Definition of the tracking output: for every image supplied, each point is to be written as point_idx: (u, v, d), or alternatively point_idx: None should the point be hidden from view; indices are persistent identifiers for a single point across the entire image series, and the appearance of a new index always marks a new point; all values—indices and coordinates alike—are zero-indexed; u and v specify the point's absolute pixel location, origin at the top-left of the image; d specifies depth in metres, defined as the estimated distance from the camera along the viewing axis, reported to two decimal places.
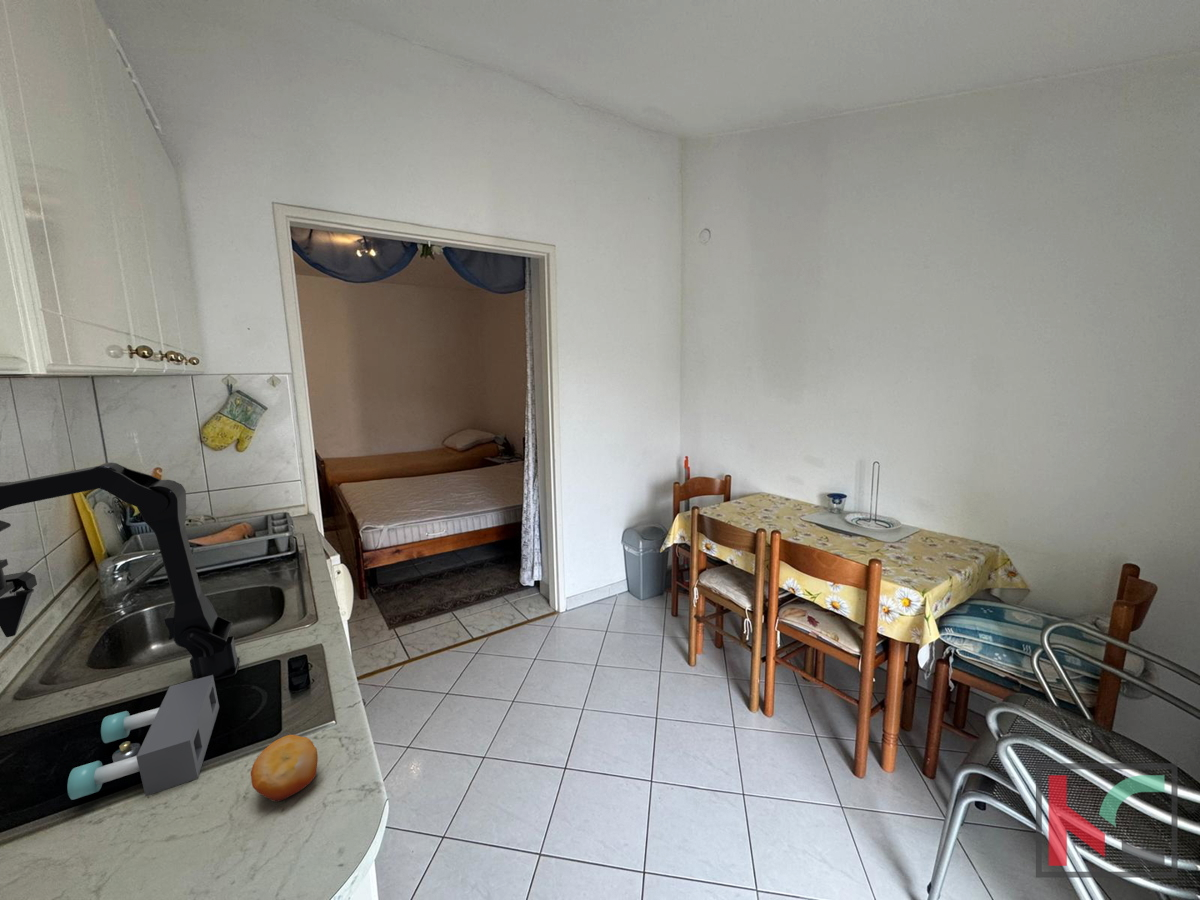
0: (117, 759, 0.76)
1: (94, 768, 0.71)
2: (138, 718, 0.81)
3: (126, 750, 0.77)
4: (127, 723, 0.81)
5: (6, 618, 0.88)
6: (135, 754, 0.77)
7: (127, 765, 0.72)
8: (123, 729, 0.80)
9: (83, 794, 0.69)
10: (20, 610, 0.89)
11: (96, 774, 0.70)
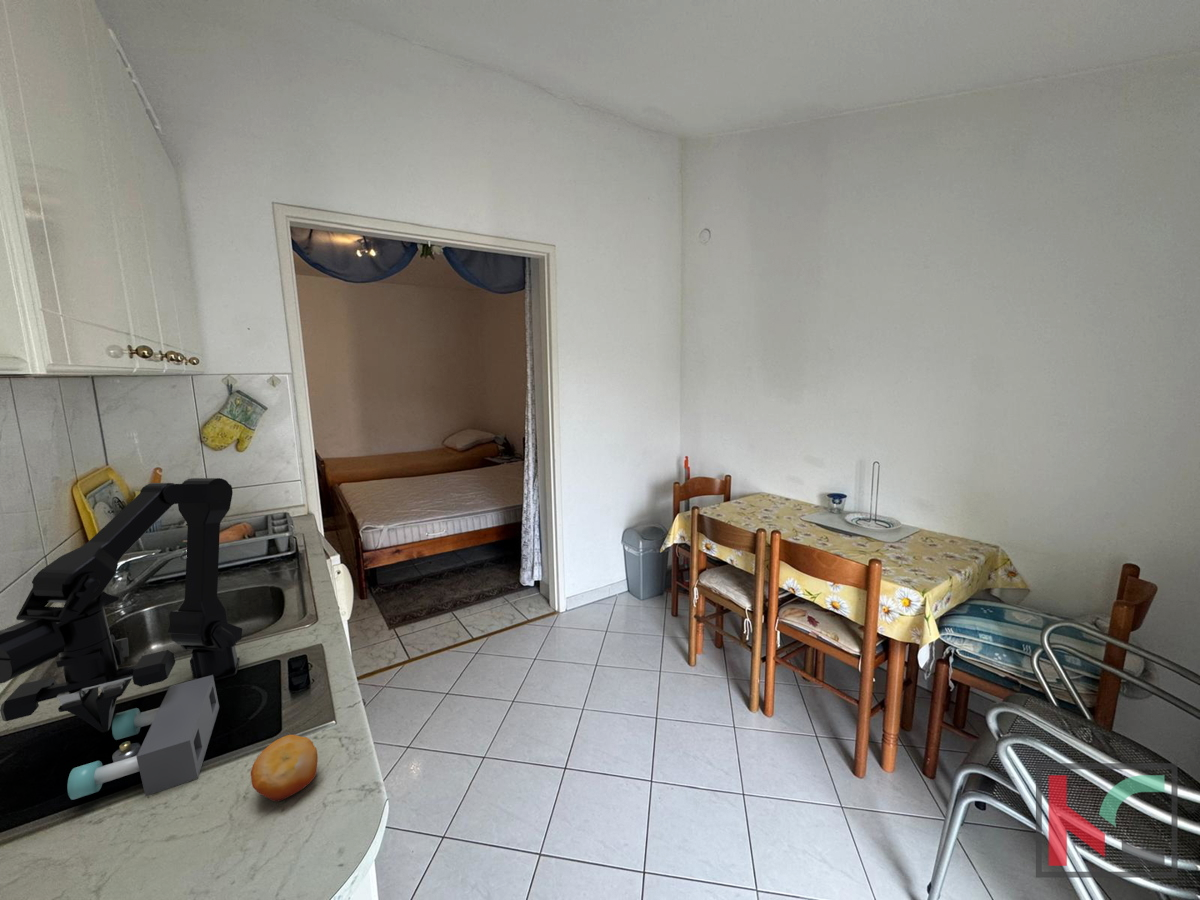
0: (117, 759, 0.76)
1: (94, 768, 0.71)
2: (148, 715, 0.82)
3: (126, 750, 0.77)
4: (138, 720, 0.81)
5: None
6: (135, 754, 0.77)
7: (127, 765, 0.72)
8: (134, 726, 0.81)
9: (83, 794, 0.69)
10: (99, 711, 0.78)
11: (96, 774, 0.70)
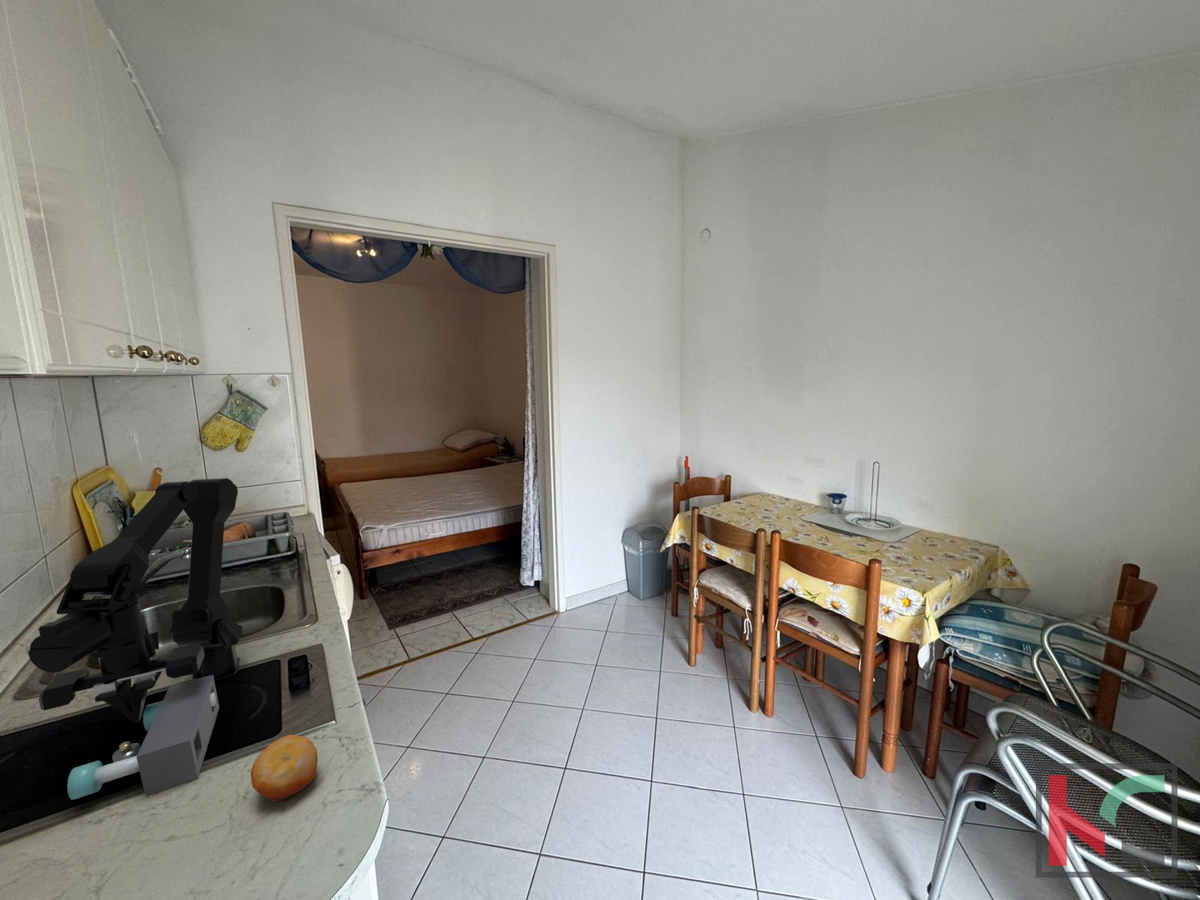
0: (117, 759, 0.76)
1: (94, 768, 0.71)
2: None
3: (126, 750, 0.77)
4: None
5: None
6: (135, 754, 0.77)
7: (127, 765, 0.72)
8: None
9: (83, 794, 0.69)
10: (131, 703, 0.80)
11: (96, 774, 0.70)
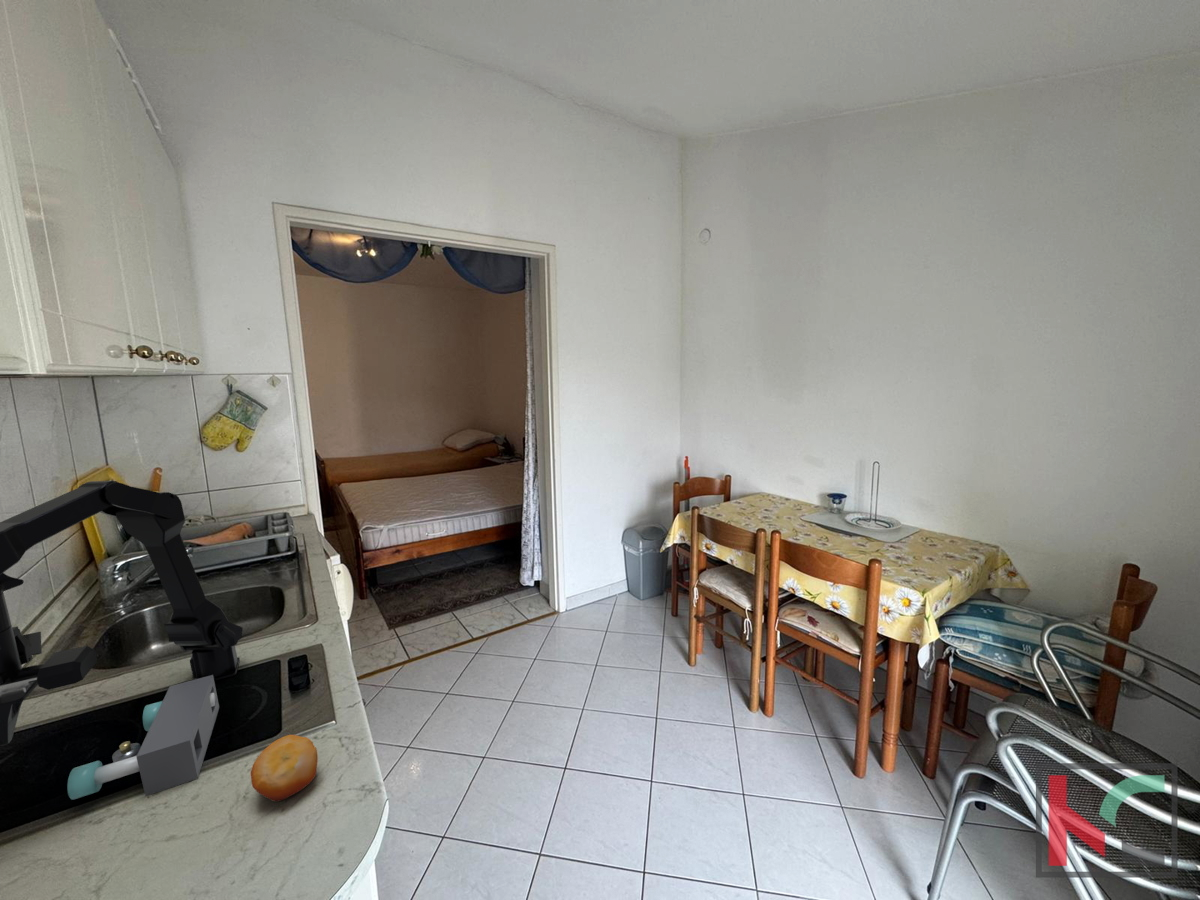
0: (117, 759, 0.76)
1: (94, 768, 0.71)
2: None
3: (126, 750, 0.77)
4: None
5: None
6: (135, 754, 0.77)
7: (127, 765, 0.72)
8: None
9: (83, 794, 0.69)
10: None
11: (96, 774, 0.70)
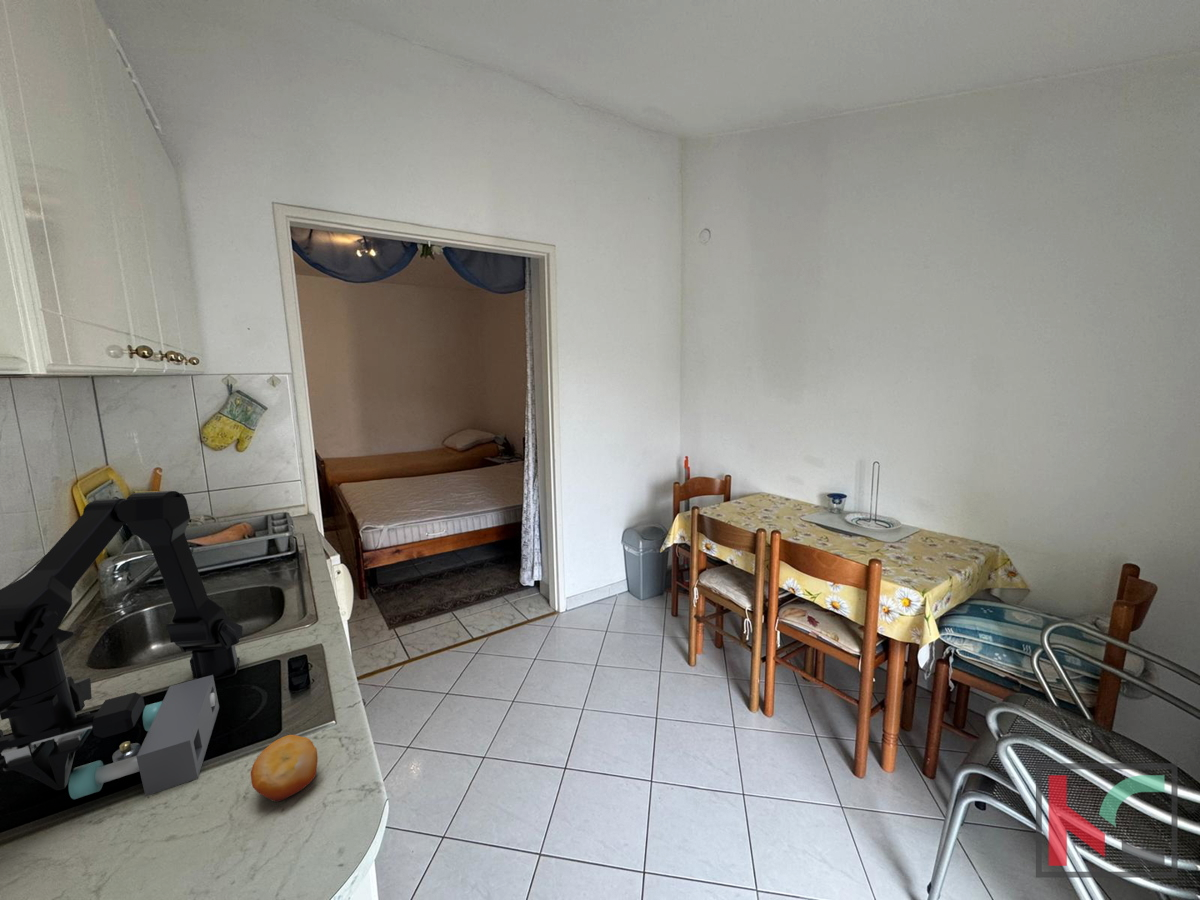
0: (117, 759, 0.76)
1: (95, 768, 0.71)
2: None
3: (126, 750, 0.77)
4: None
5: None
6: (135, 754, 0.77)
7: (128, 765, 0.72)
8: None
9: (84, 794, 0.69)
10: (52, 768, 0.67)
11: (97, 774, 0.70)
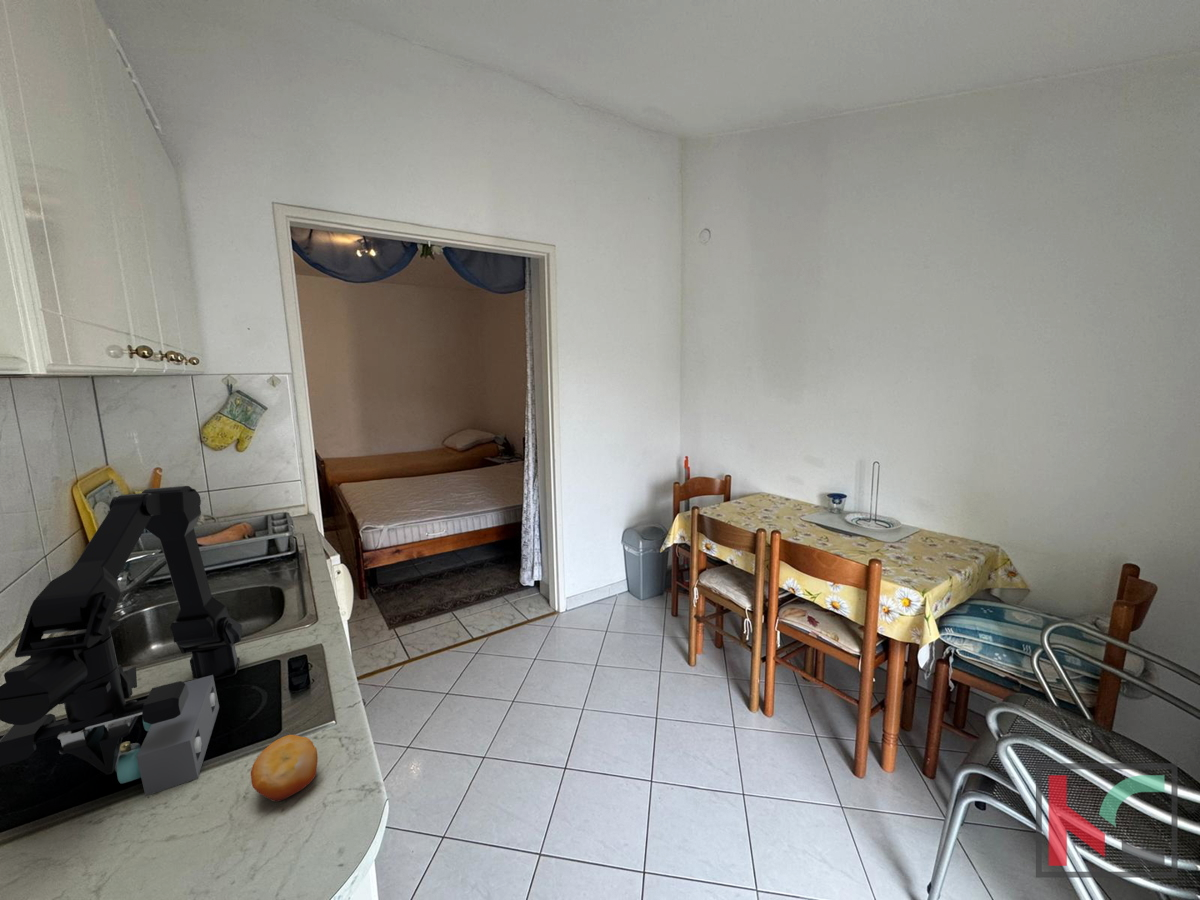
0: (117, 759, 0.76)
1: None
2: None
3: (126, 750, 0.77)
4: None
5: None
6: None
7: None
8: None
9: (131, 778, 0.72)
10: (103, 753, 0.70)
11: None
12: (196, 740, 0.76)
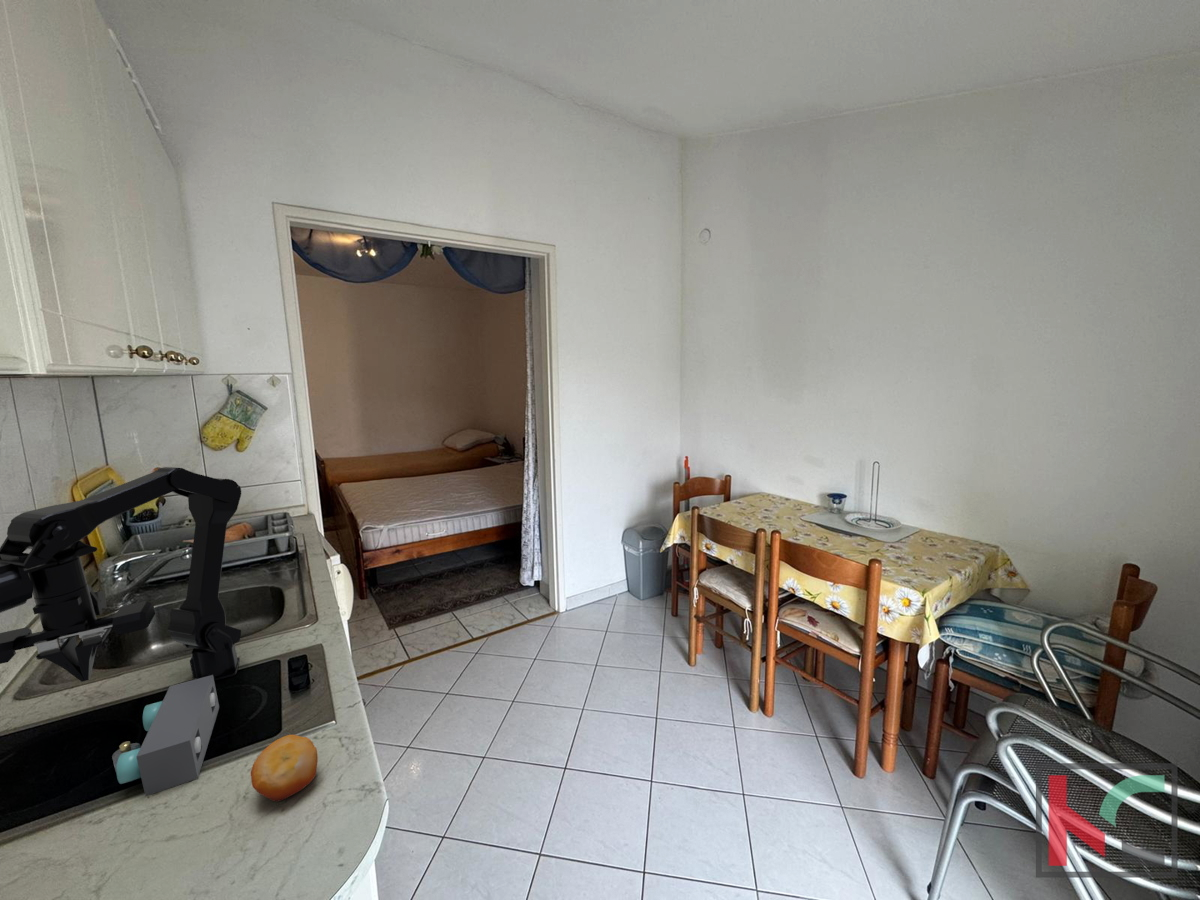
0: (117, 759, 0.76)
1: None
2: None
3: (126, 750, 0.77)
4: None
5: None
6: None
7: None
8: None
9: (131, 779, 0.72)
10: (78, 660, 0.78)
11: None
12: (195, 740, 0.76)
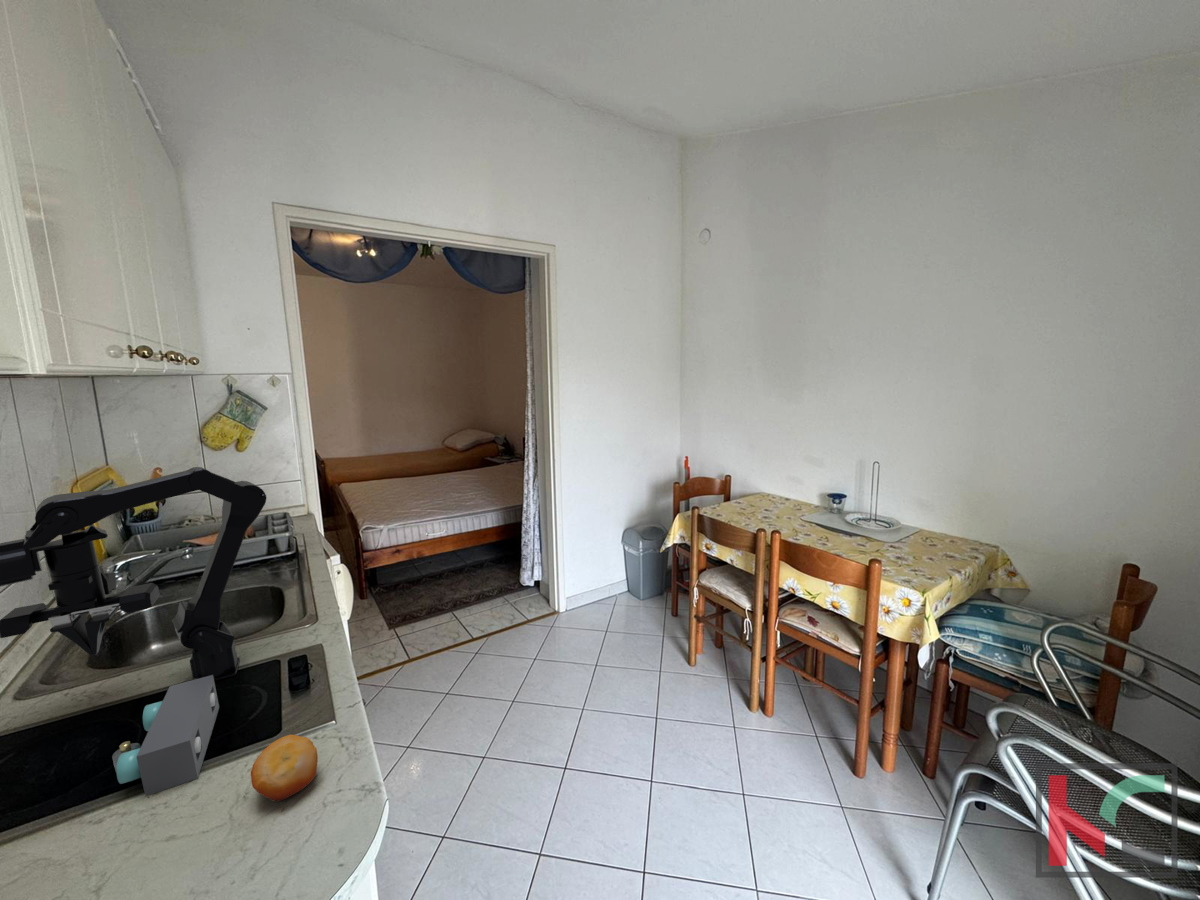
0: (117, 759, 0.76)
1: None
2: None
3: (126, 750, 0.77)
4: None
5: None
6: None
7: None
8: None
9: (131, 779, 0.72)
10: (88, 635, 0.85)
11: None
12: (195, 740, 0.76)
